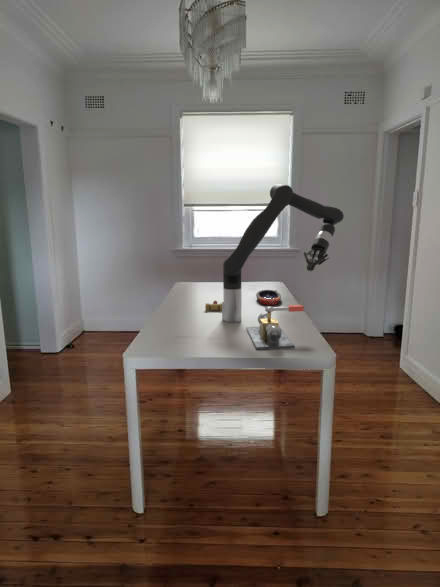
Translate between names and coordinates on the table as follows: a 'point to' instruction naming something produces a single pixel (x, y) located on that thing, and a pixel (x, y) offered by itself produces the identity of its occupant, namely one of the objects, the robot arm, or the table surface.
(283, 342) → the valve body
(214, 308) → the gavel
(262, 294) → the dish
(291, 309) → the valve lever
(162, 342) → the table surface
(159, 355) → the table surface
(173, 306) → the table surface
